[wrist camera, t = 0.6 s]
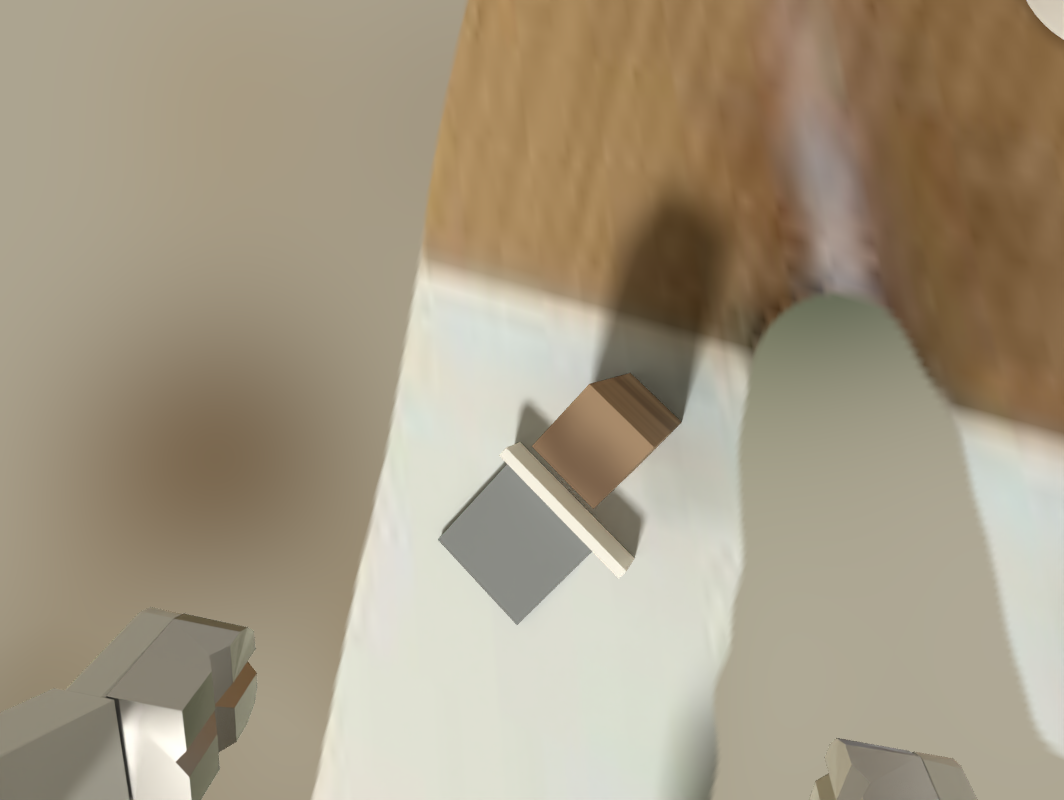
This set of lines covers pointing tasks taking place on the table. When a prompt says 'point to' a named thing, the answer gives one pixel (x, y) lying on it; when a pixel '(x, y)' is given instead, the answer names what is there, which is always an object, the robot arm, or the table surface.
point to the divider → (568, 508)
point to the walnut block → (605, 435)
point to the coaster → (513, 544)
